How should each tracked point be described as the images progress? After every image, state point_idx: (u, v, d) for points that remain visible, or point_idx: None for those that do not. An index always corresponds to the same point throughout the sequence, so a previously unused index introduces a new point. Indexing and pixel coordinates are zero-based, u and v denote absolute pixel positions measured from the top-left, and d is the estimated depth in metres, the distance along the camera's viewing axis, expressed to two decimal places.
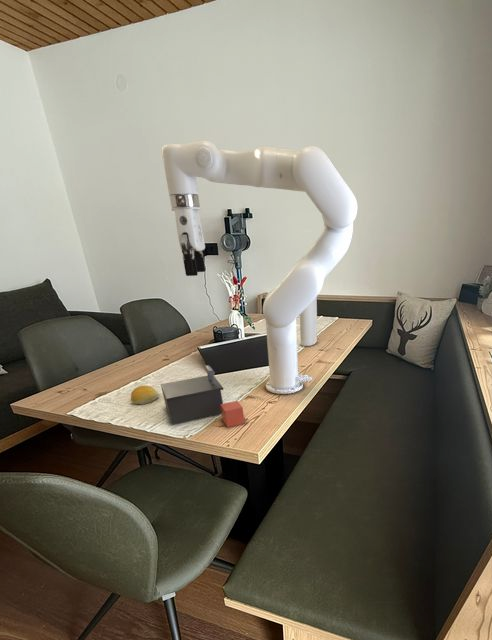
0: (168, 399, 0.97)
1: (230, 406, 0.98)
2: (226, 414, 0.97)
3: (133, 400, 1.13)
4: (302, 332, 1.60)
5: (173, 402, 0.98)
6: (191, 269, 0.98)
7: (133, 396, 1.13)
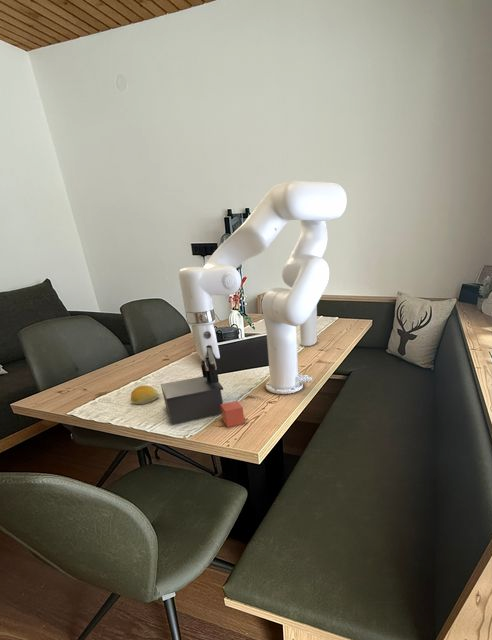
0: (168, 399, 0.97)
1: (230, 406, 0.98)
2: (226, 414, 0.97)
3: (133, 400, 1.13)
4: (302, 332, 1.60)
5: (173, 402, 0.98)
6: (214, 378, 1.03)
7: (133, 396, 1.13)
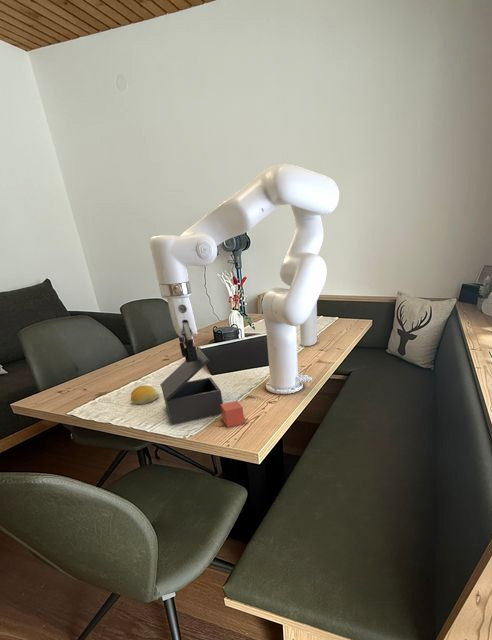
0: (167, 398, 0.97)
1: (230, 406, 0.98)
2: (226, 414, 0.97)
3: (133, 400, 1.13)
4: (302, 332, 1.60)
5: (173, 402, 0.98)
6: (193, 356, 0.97)
7: (133, 396, 1.13)
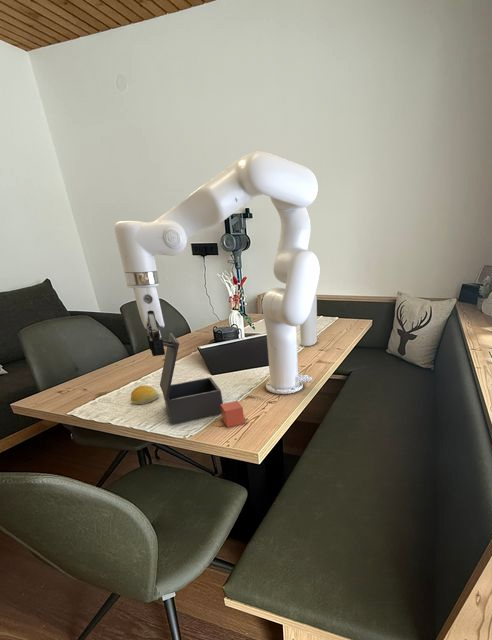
0: (166, 398, 0.97)
1: (230, 406, 0.98)
2: (226, 414, 0.97)
3: (133, 400, 1.13)
4: (302, 332, 1.60)
5: (173, 402, 0.98)
6: (159, 349, 0.93)
7: (133, 396, 1.13)
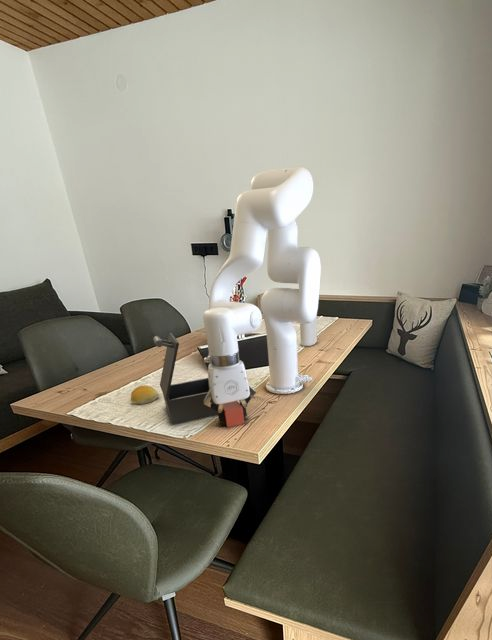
0: (166, 398, 0.97)
1: (230, 406, 0.98)
2: (226, 414, 0.97)
3: (133, 400, 1.13)
4: (302, 332, 1.60)
5: (173, 402, 0.98)
6: (219, 419, 0.99)
7: (133, 396, 1.13)
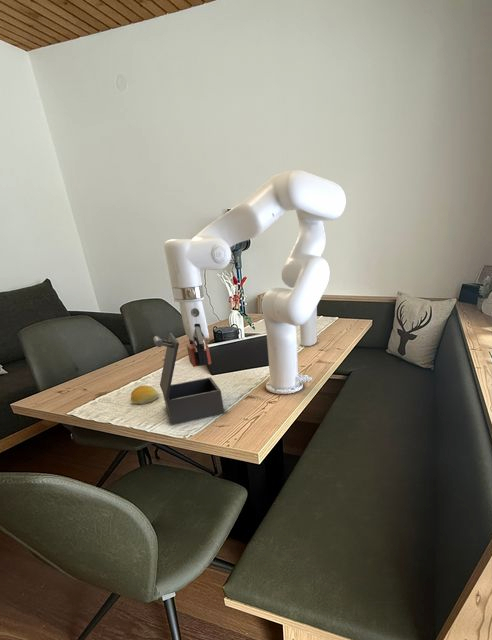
0: (166, 398, 0.97)
1: None
2: (208, 349, 0.98)
3: (133, 400, 1.13)
4: (302, 332, 1.60)
5: (173, 402, 0.98)
6: (203, 360, 0.97)
7: (133, 396, 1.13)
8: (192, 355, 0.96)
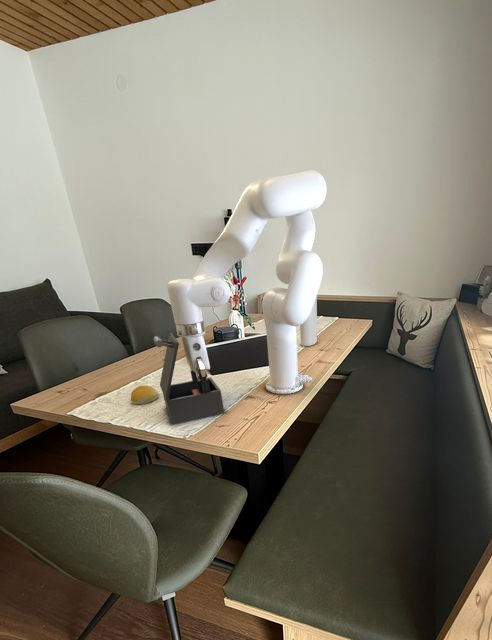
0: (166, 398, 0.97)
1: None
2: None
3: (133, 400, 1.13)
4: (302, 332, 1.60)
5: (173, 402, 0.98)
6: (206, 388, 1.01)
7: (133, 396, 1.13)
8: None
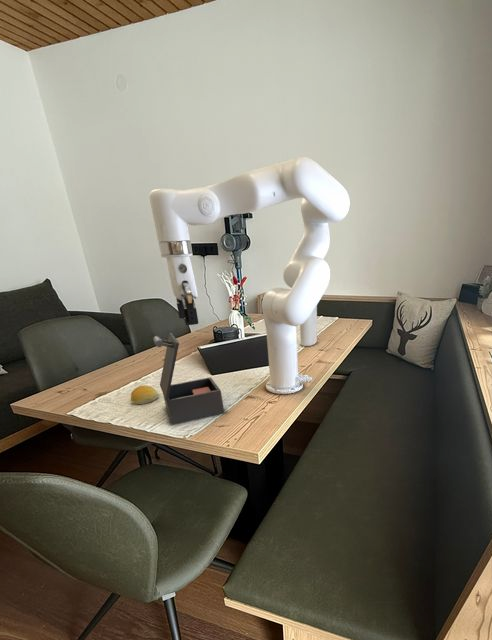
0: (166, 398, 0.97)
1: (204, 391, 1.07)
2: None
3: (133, 400, 1.13)
4: (302, 332, 1.60)
5: (173, 402, 0.98)
6: (193, 318, 0.91)
7: (133, 396, 1.13)
8: None
